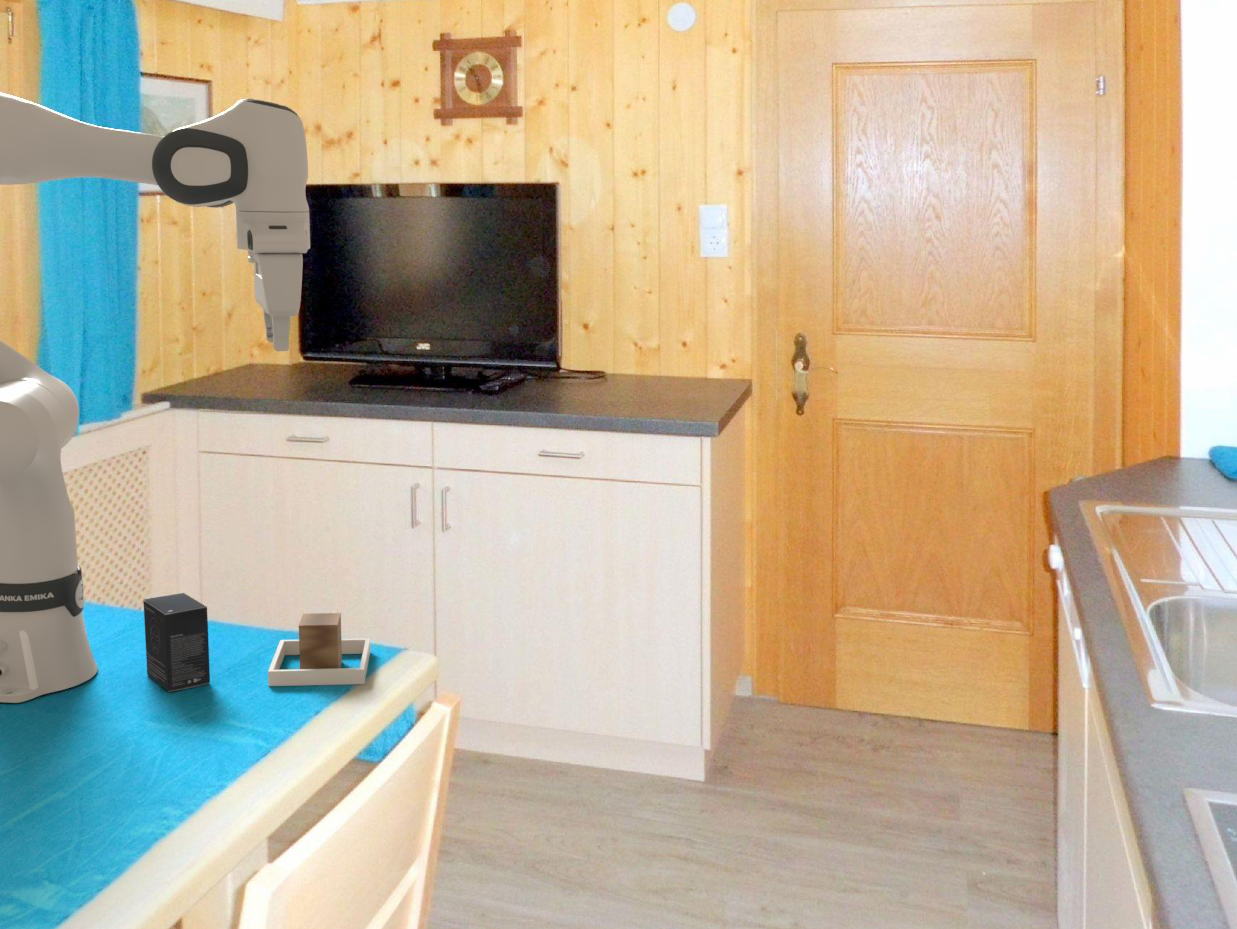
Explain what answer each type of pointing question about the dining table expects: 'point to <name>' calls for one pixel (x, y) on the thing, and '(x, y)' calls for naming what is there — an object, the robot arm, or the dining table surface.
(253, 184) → the robot arm
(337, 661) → the walnut block
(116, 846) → the dining table surface
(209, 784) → the dining table surface
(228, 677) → the dining table surface
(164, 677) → the box
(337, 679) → the white square frame
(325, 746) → the dining table surface
